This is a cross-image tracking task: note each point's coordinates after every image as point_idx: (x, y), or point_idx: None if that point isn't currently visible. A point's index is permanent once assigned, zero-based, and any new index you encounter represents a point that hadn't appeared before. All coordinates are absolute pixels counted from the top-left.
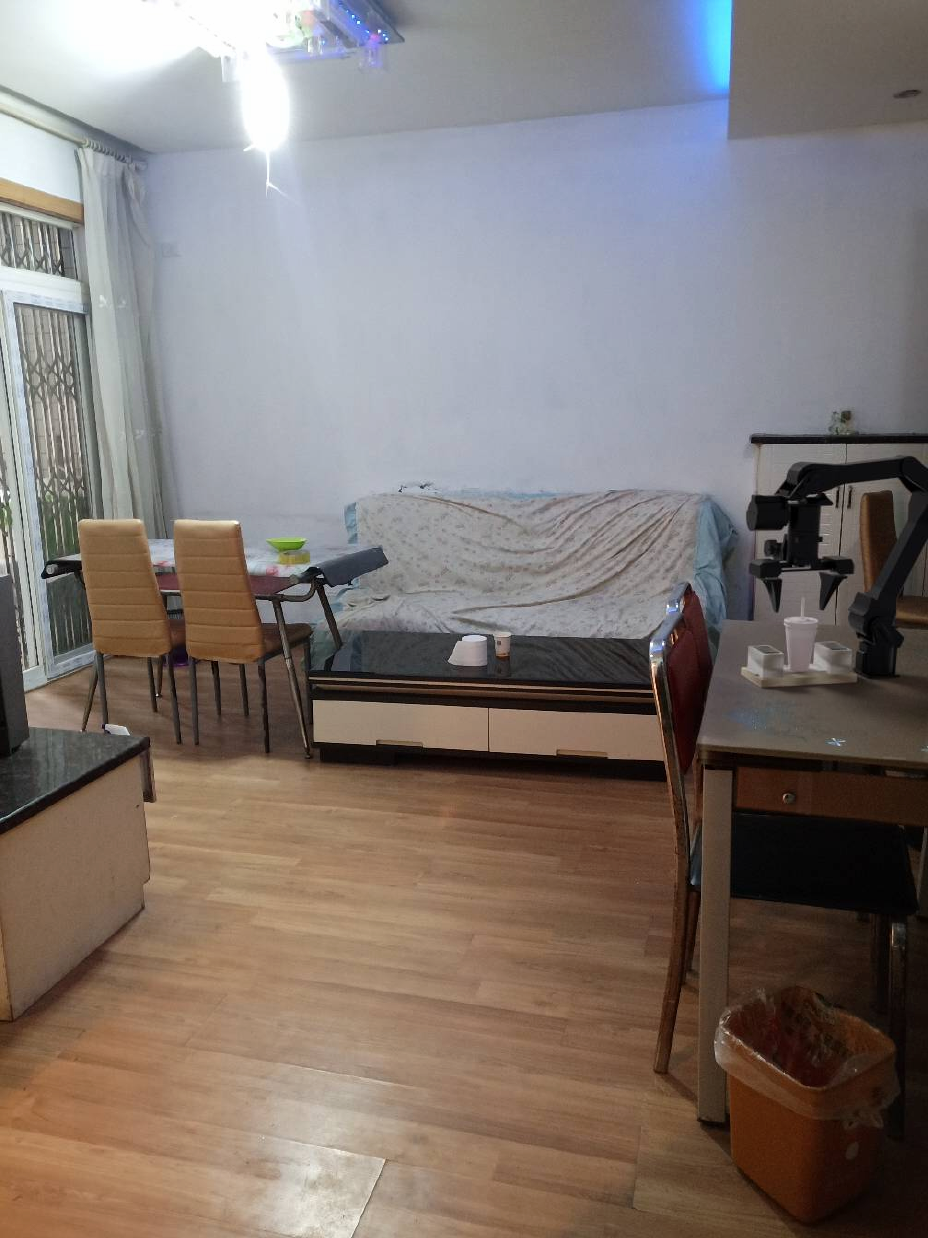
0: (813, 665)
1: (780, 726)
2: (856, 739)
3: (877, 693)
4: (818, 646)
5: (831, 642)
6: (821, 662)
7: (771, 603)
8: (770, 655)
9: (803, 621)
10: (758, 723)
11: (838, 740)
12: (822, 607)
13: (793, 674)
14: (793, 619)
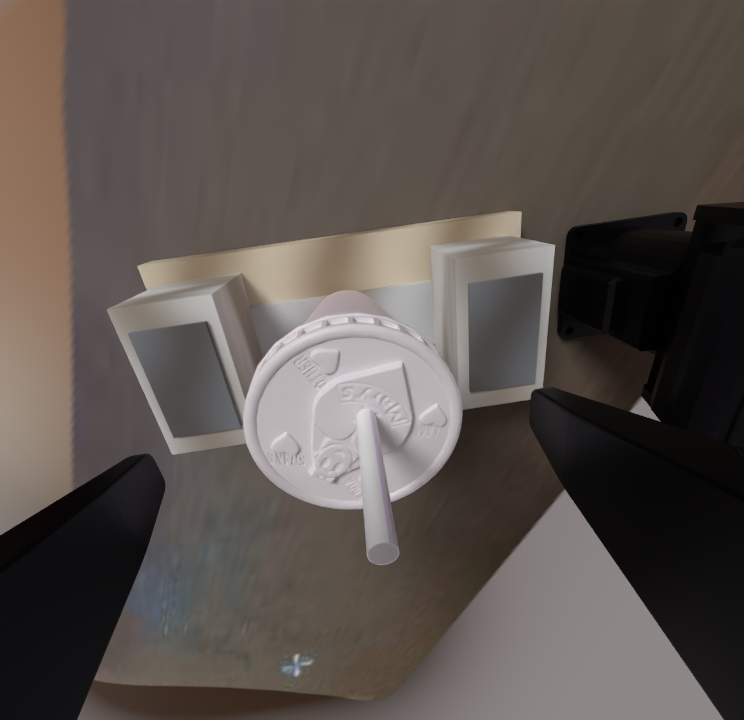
0: (425, 257)
1: (216, 622)
2: (333, 656)
3: (501, 451)
4: (453, 299)
5: (526, 283)
6: (438, 315)
7: (56, 504)
8: (202, 447)
9: (353, 470)
10: (174, 614)
11: (302, 661)
12: (542, 442)
13: None
14: (311, 399)
